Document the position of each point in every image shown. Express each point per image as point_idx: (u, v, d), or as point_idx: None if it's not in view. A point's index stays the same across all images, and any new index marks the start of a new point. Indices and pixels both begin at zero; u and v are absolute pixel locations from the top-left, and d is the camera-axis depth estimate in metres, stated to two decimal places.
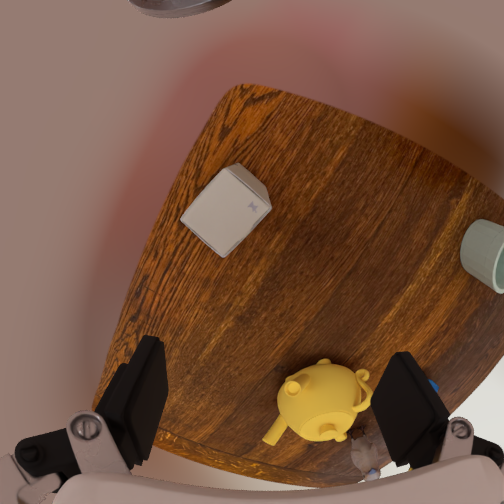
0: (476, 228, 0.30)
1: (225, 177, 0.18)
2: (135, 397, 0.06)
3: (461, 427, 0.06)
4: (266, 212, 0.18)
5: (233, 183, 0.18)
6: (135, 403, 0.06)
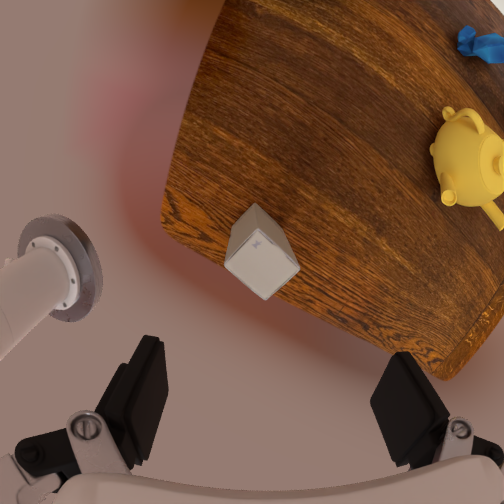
0: None
1: (231, 265, 0.22)
2: (135, 397, 0.06)
3: (461, 427, 0.06)
4: (261, 233, 0.22)
5: (236, 259, 0.22)
6: (135, 403, 0.06)
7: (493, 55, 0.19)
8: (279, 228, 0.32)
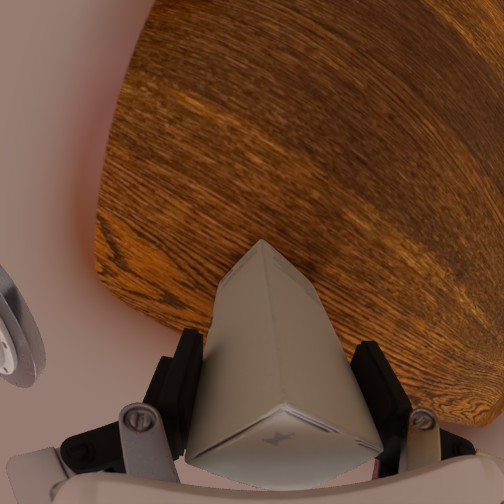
0: None
1: (205, 466, 0.06)
2: (186, 386, 0.07)
3: (423, 418, 0.06)
4: (297, 415, 0.05)
5: (218, 460, 0.06)
6: (187, 392, 0.07)
7: None
8: (312, 294, 0.15)
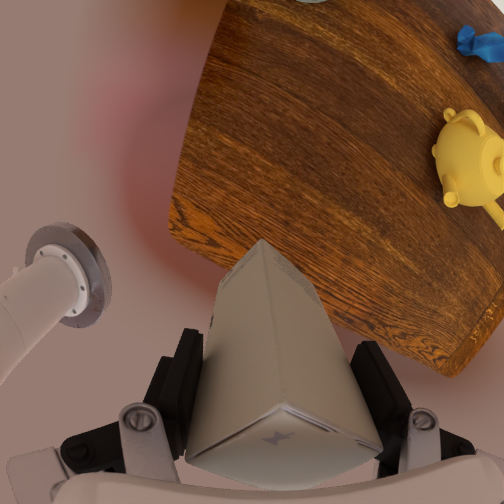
0: None
1: (204, 465, 0.06)
2: (186, 386, 0.07)
3: (423, 418, 0.06)
4: (296, 414, 0.05)
5: (218, 459, 0.06)
6: (187, 392, 0.07)
7: (493, 54, 0.19)
8: (312, 294, 0.15)
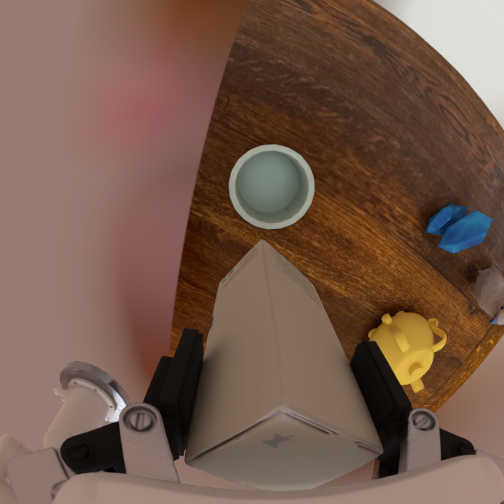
0: None
1: (204, 467, 0.06)
2: (186, 386, 0.07)
3: (423, 418, 0.06)
4: (296, 417, 0.05)
5: (218, 461, 0.06)
6: (187, 392, 0.07)
7: (460, 247, 0.31)
8: (313, 295, 0.15)
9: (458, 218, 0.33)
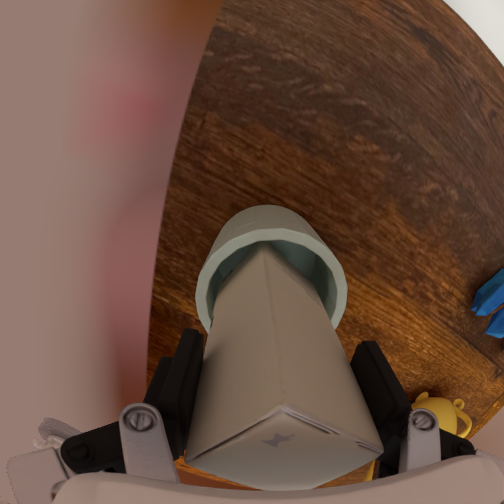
0: None
1: (204, 466, 0.06)
2: (186, 386, 0.07)
3: (423, 418, 0.06)
4: (296, 416, 0.05)
5: (217, 461, 0.06)
6: (187, 392, 0.07)
7: None
8: (313, 295, 0.15)
9: None
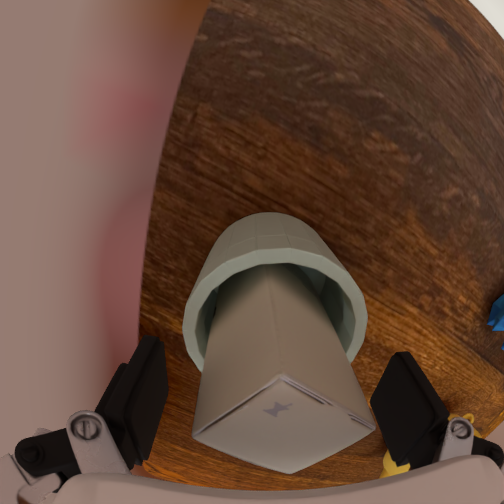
0: None
1: (210, 440, 0.07)
2: (135, 397, 0.06)
3: (461, 427, 0.06)
4: (294, 385, 0.06)
5: (222, 433, 0.07)
6: (135, 403, 0.06)
7: None
8: (309, 287, 0.16)
9: None
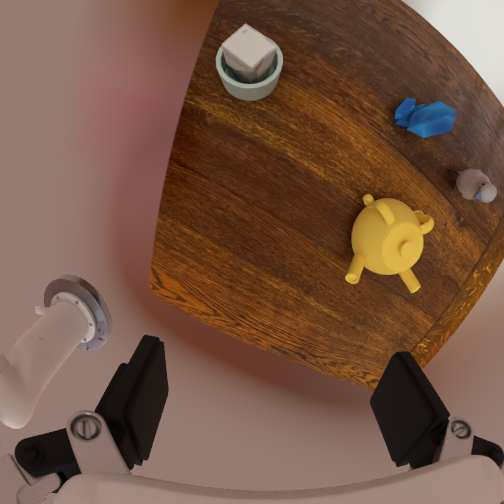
0: (228, 90, 0.37)
1: (227, 44, 0.24)
2: (135, 397, 0.06)
3: (461, 427, 0.06)
4: (248, 25, 0.24)
5: (231, 40, 0.24)
6: (135, 403, 0.06)
7: (429, 130, 0.33)
8: None
9: None
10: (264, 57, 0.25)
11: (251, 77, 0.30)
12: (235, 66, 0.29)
